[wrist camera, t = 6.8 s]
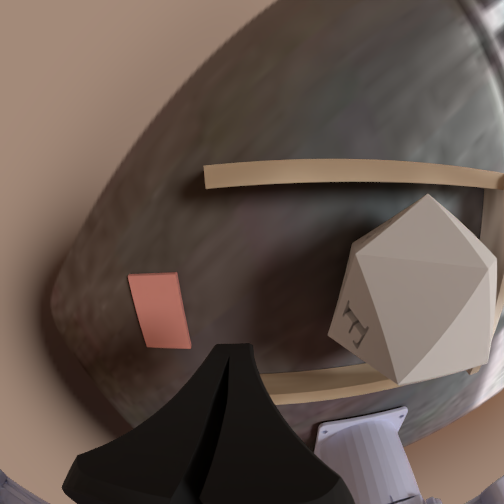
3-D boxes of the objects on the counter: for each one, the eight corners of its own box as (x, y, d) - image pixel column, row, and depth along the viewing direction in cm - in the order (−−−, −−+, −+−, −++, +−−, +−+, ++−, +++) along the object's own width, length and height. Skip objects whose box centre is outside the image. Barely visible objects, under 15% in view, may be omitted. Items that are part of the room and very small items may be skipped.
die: (378, 159, 14) (312, 249, 7) (510, 215, 10) (553, 354, 4) (349, 271, 19) (282, 383, 12) (454, 315, 15) (430, 445, 9)
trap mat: (191, 345, 17) (190, 348, 16) (148, 344, 17) (147, 347, 16) (177, 272, 15) (175, 274, 15) (129, 274, 15) (127, 276, 15)
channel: (460, 350, 17) (478, 371, 14) (236, 384, 18) (233, 417, 15) (492, 171, 13) (522, 177, 10) (211, 165, 13) (198, 166, 10)
